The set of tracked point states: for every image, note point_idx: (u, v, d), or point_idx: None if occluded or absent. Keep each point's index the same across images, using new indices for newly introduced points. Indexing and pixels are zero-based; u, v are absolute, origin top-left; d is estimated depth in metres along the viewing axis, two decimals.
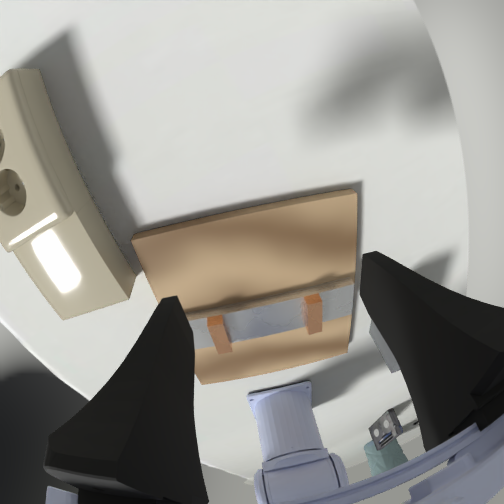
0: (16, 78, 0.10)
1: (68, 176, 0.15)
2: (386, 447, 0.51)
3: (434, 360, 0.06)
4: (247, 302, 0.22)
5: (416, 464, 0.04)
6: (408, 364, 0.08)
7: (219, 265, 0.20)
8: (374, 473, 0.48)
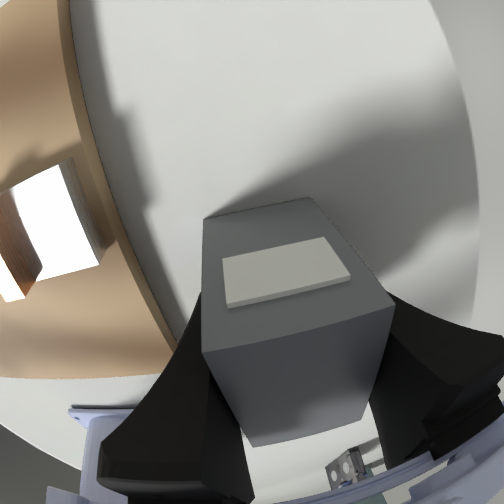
0: None
1: None
2: None
3: (389, 380, 0.06)
4: None
5: (416, 464, 0.04)
6: None
7: None
8: None
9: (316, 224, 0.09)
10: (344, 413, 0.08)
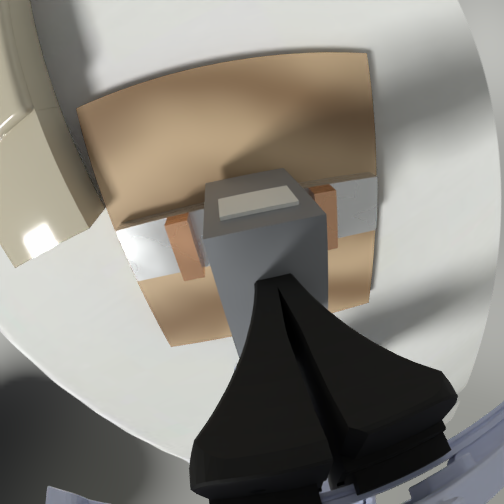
0: None
1: (35, 76, 0.10)
2: None
3: (318, 404, 0.06)
4: None
5: (416, 464, 0.04)
6: (309, 398, 0.08)
7: (186, 136, 0.14)
8: None
9: (283, 181, 0.12)
10: None
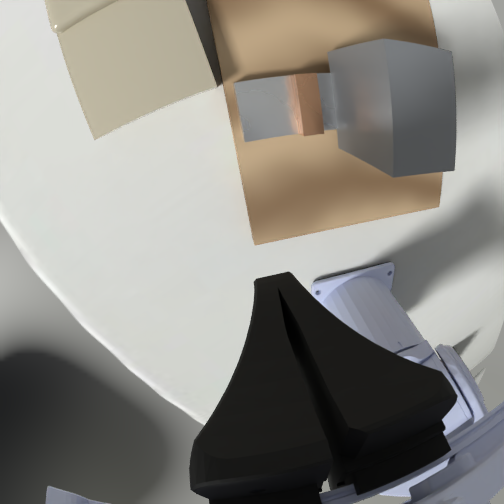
0: None
1: None
2: None
3: (318, 404, 0.06)
4: None
5: (416, 464, 0.04)
6: (309, 398, 0.08)
7: (306, 18, 0.12)
8: None
9: None
10: (445, 146, 0.10)
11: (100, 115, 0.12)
